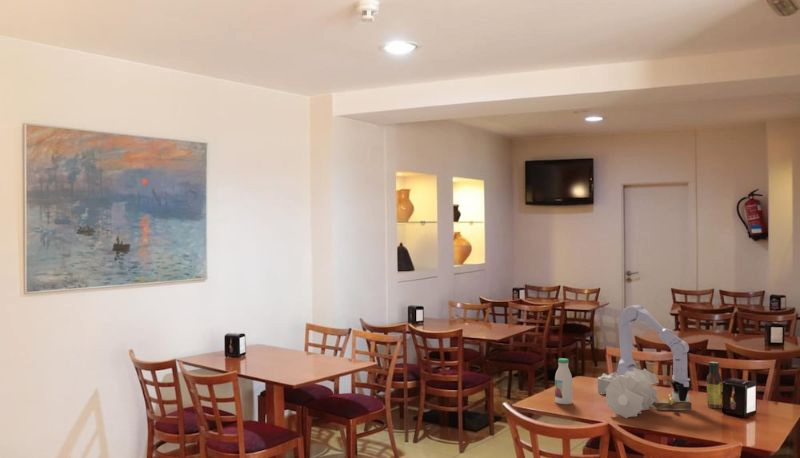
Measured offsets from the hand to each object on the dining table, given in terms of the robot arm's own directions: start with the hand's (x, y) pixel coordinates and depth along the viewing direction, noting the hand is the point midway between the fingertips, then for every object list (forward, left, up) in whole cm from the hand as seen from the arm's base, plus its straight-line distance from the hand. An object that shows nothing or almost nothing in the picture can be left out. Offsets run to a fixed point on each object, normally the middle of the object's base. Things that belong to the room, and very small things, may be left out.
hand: (680, 399), depth 285 cm
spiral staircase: (-23, -8, -4) cm, 25 cm away
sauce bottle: (+16, +2, -4) cm, 16 cm away
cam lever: (-5, -3, -1) cm, 6 cm away
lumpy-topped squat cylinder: (-22, +28, -4) cm, 36 cm away
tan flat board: (-4, 0, -4) cm, 5 cm away
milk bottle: (-49, +8, -4) cm, 50 cm away
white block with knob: (0, 0, 0) cm, 0 cm away
